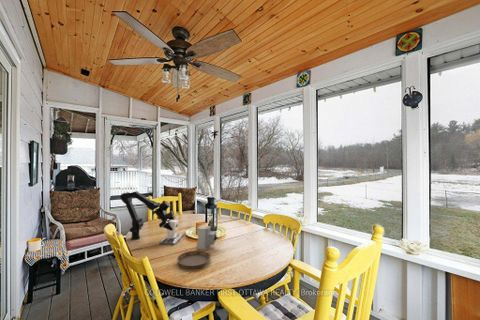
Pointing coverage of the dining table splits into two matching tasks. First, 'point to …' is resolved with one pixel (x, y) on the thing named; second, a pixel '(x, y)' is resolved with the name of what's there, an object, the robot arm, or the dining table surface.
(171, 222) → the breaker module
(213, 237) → the circuit breaker
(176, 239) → the rail plate
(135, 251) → the dining table surface
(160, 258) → the dining table surface
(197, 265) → the plant saucer
